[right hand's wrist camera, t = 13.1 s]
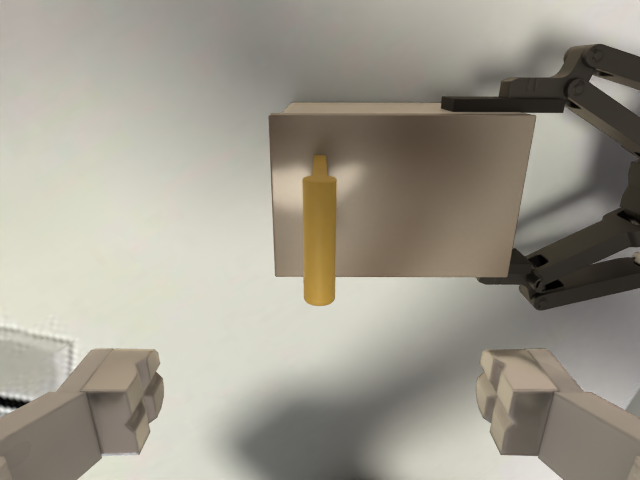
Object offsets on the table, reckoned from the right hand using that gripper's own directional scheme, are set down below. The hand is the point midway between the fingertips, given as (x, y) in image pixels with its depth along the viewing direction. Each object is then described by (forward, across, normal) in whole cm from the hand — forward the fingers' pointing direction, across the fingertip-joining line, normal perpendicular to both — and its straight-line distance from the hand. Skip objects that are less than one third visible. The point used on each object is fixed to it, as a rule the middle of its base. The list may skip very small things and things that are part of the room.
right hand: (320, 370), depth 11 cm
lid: (+16, +4, 0) cm, 17 cm away
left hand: (+19, +8, 0) cm, 20 cm away
